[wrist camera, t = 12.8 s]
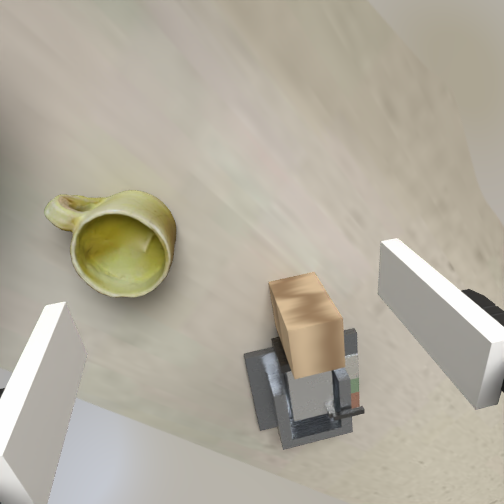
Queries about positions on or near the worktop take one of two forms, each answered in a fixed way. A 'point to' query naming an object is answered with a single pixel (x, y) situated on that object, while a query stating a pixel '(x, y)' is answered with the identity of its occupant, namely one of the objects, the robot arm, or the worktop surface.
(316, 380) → the grey blocky piece
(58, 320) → the robot arm
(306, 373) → the block
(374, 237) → the worktop surface
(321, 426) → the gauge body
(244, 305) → the worktop surface
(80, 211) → the mug
